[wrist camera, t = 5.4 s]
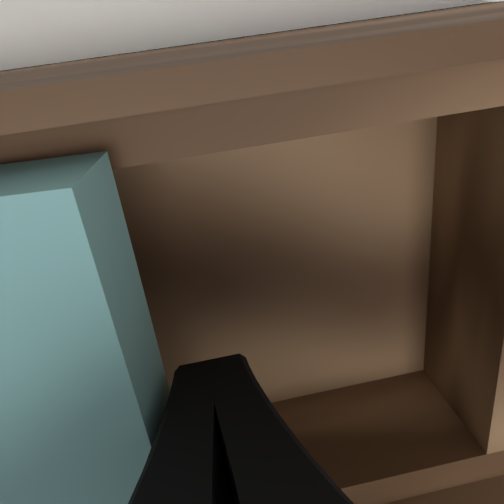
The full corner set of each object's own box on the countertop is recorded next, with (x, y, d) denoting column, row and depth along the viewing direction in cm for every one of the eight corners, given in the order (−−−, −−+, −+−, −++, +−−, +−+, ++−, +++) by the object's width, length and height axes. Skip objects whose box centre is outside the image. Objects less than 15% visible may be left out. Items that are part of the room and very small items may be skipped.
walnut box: (453, 382, 17) (569, 527, 12) (50, 471, 15) (-2, 673, 11) (489, 2, 11) (726, -13, 7) (-126, 89, 10) (-391, 147, 5)
